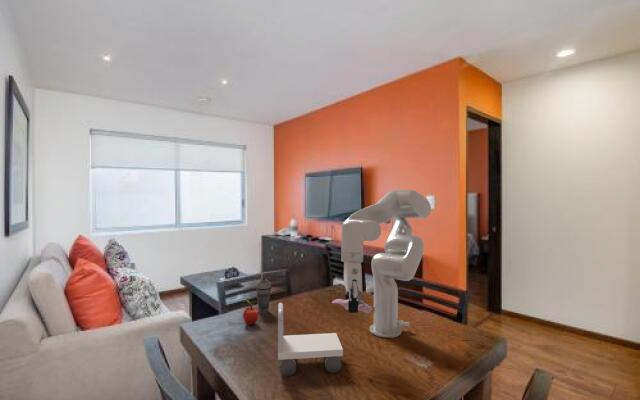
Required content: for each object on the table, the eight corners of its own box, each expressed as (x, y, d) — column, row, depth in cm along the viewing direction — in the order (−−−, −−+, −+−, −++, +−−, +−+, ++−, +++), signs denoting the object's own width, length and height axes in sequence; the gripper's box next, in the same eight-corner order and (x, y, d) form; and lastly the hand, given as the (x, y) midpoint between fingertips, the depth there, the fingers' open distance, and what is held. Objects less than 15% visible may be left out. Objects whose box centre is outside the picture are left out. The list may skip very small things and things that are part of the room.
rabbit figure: (373, 313, 111) (332, 304, 114) (377, 297, 111) (335, 287, 114) (374, 320, 105) (330, 309, 108) (377, 302, 105) (333, 292, 108)
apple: (261, 321, 138) (261, 298, 138) (256, 327, 131) (256, 303, 131) (243, 320, 139) (243, 297, 138) (238, 327, 132) (238, 303, 132)
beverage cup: (268, 315, 145) (268, 271, 145) (253, 313, 146) (253, 270, 146) (273, 309, 152) (273, 268, 152) (259, 308, 154) (259, 267, 153)
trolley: (335, 352, 110) (336, 300, 110) (343, 372, 98) (343, 313, 98) (278, 356, 108) (278, 302, 108) (277, 376, 95) (278, 316, 95)
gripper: (368, 261, 101) (367, 318, 101) (357, 252, 118) (357, 301, 118) (345, 261, 100) (344, 318, 100) (338, 252, 118) (337, 301, 117)
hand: (351, 308), depth 109 cm, fingers closed on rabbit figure, 5 cm apart
